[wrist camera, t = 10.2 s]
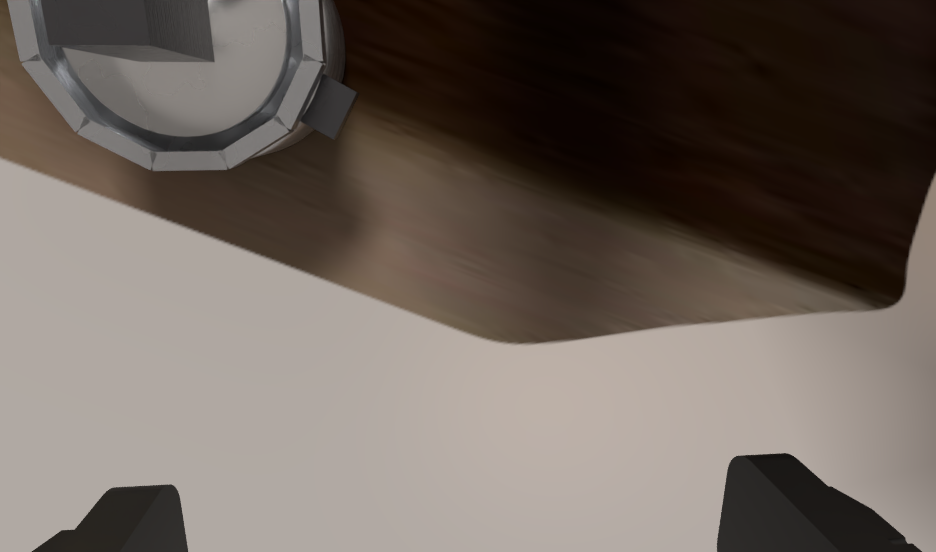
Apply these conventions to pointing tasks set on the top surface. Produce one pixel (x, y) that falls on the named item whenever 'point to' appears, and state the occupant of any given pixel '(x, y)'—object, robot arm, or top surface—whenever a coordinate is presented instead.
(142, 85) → the lid
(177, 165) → the pot
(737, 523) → the robot arm
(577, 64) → the top surface
